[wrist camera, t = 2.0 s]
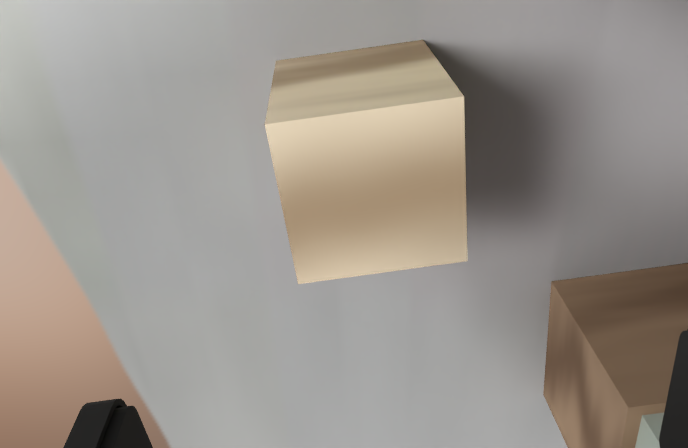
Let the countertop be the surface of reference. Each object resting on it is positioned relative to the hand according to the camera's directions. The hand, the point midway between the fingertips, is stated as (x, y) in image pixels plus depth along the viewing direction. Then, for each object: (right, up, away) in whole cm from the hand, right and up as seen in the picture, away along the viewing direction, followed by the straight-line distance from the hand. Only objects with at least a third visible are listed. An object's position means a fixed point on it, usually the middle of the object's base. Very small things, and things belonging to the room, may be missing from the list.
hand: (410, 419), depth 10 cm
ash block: (-1, +7, +11) cm, 13 cm away
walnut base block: (+12, -2, +17) cm, 20 cm away
